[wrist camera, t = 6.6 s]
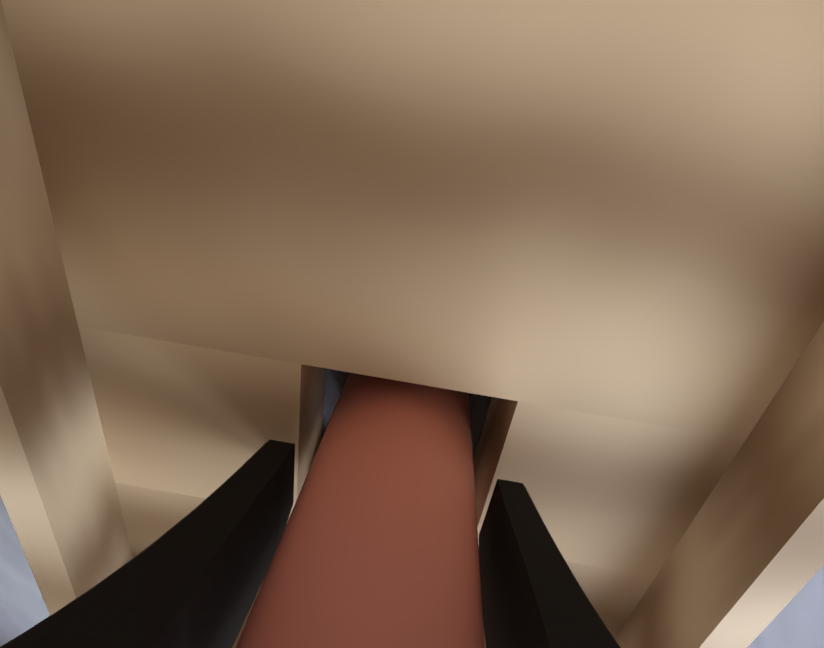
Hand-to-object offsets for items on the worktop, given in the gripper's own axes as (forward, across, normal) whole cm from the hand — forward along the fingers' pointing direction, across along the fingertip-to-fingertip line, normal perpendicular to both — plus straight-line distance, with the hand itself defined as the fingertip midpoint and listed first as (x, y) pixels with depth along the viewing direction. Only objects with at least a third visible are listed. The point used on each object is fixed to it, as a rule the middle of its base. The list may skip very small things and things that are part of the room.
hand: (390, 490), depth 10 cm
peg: (+3, 0, 0) cm, 3 cm away
